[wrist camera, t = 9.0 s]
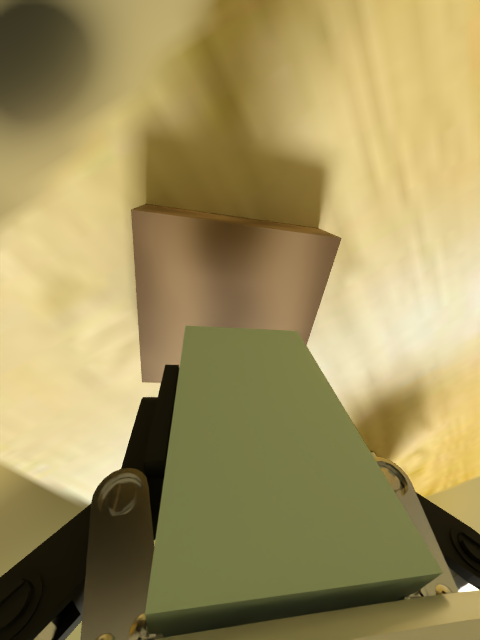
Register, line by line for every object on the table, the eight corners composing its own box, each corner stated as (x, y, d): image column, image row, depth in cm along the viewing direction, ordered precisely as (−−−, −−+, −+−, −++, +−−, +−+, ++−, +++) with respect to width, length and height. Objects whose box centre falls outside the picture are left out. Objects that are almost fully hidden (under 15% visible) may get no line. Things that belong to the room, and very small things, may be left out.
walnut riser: (316, 227, 18) (341, 238, 15) (280, 356, 24) (293, 385, 21) (147, 203, 16) (131, 209, 13) (152, 350, 22) (142, 382, 19)
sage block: (297, 330, 11) (442, 572, 4) (275, 407, 14) (347, 641, 7) (185, 325, 10) (144, 614, 3) (183, 407, 13) (156, 675, 6)
